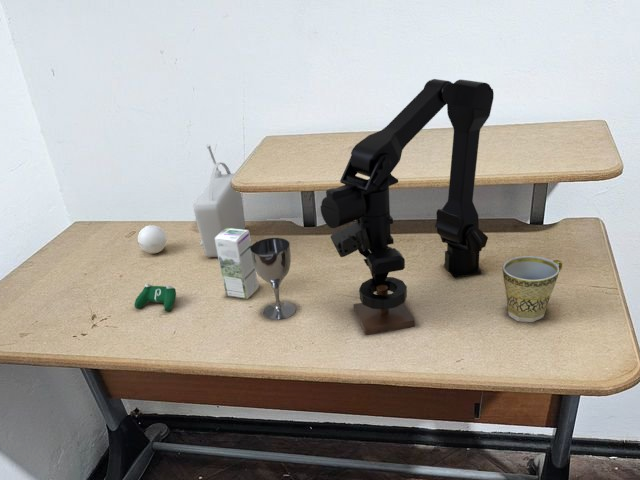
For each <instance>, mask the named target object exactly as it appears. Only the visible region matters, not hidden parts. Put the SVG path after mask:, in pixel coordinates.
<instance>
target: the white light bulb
mask: <svg viewBox="0 0 640 480" xmlns="http://www.w3.org/2000/svg"><path fill="white" fill-rule="evenodd" d="M166 235H167V234H166V232H165V231H164V230H163V228H161V227H160V226H158V225H155V224H154V225H153V224H148V225H146V226H144V227H143V228H142V229H140V231H139V233H138V236H137V244H138V245H139V247H140V249H142V250H143V251H144V252H145V253H148V254H158V253H160V252H162V251H163V250H164V249H165V247H166V245H167V240H168V239H167V236H166ZM133 241H135V239H132V240H131V242H133ZM128 242H129V243H130V240H127V243H128Z"/></svg>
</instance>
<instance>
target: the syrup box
mask: <svg viewBox="0 0 640 480" xmlns="http://www.w3.org/2000/svg"><path fill="white" fill-rule="evenodd" d="M215 244H216V248H217V253H218V257H217V258H218V262H219V267H220V272H221V277H222V283H223V287H224V291H225V296H226V297H231V298H235V299H236V298H237V299H244V300H248V299H249V298H251V297H252V296H253V295H254V293H255V292H256V291H257V290H259V287H260V286H259V281H258V276H257V275H258V274H257V272H256V269H255V267H254V264H253V261H252V257H251V251H250V248H251V246H252V245H253V244H252V240H251V234H250V230H249V229H245V230H242V229H231V228H227V229H225V230H223V231H222V232H221V233H219V234H218V235H217V236H216V237H215Z"/></svg>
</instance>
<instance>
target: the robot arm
mask: <svg viewBox="0 0 640 480" xmlns="http://www.w3.org/2000/svg"><path fill="white" fill-rule="evenodd" d="M494 96H495V95H494V89H493V88H492V87H491V85H490V84H489V83H487V82H483V81H476V80H475V81H474V80H469V79H468V80H467V79H458V80H456V81H454V82H452V81H449V80H444V79H436V78H432V79H430V80H428V81H427V82H425V84H424V86H423V89H421V91H419V93H418V94H417V95H416V96H414V98H413V99H412V100H410V102H409V103H408V104H407V105H406V106H405V107H403V109H402V110H401V111H400V112H399V113H398V114H397V115H396V116H395V117H394V118H393V119H392V120H391V121H390V122H389V123H388V124H387V125H386V126H385V127H384V128H382V129H381V130H378V131H376V132H374V133H371V134H368V135H367V136H366V137H365V138H363V139H362V140H360V141H359V142H357V144H355V145H354V147H353V148H352V149H351V151H350V157H349V160H348V162H347V164H346V166H345V168H344V171H343V173H342V175H341V178H340V180H339V182H340V184H343V185H340V186H338V187H333V188H329V189H327V190H325V194H326V196H325V197H323V198H322V199H321V200H322V201H321V205H320V213H321V217H322V219H323V221H324V222H325V224H326V226H328V227H329V228H330V229H337V228H340V227H342V226H345V225H347V226H345V227H343V228H341V229H339V230H337V231H335V232H334V233H332V234H331V235H330V239H331V241H332V244H333V246H334V248H335V250H336V252H337V253H338V256H339V257H340V258H345V257H348V256H349V255H351V254H353V253H354V252H357V251H358V252H359V254H360V255H362V256H363V257H364V258H363V261H364V263H365V265H366V266H367V267H368V269H369V271H370V274H371V278H374V279H375V283H376V287H377V286H379V285H383V284H384V282H385V280H386V278H387V277H389V276H388V275H389V273H393V272H400V271H404V270H405V268H406V260H405V258H404V256H403V255H402V253H401V252H400V251H399V250H398V249H397V248H395V247H391V246H389V245H394V244H395V243H394V242H395V241H394V238H393V236H392V235H391V225H393V224H394V218H393V216H392V215H391V206H390V187H391V186H393V185H396V184H398V183H399V179H398V178H397V177H395V176H393V174H392V172H393V171H394V169H395V168H396V167H397V165H398V164H399V163H400V161H401V158H402V154H403V150H404V149H405V147H406V146H407V145H408V144H409V143H410V142H412V140H413V139H414V138H415V137H416V136H417V135H418V134H419V133H420V132H421V131H422V129H423V128H425V127H426V125H428V124H429V122H430V121H431V120H433V118H434V117H436V115H438V113H440V111H441V110H442V109H443V108H444V107H445V106H446V108H447V109H446V110H447V117H448V119H449V121H450V124H451V126H452V129H453V136H452V150H451V159H450V161H451V162H450V170H449V171H450V174H449V182H448V183H449V185H448V196H447V201H446V202H445V204H444V205H443V207H442V208H438V209H436V210H437V211H436V221H435V224H434V228H436V233H437V235H439V237H440V239H441V243H444V244H446V246H447V247H446V250H445V251H444V263H443V267H444V268H445V270H446V271H447V272H448V274H450V276H451V277H452V278H454V279H456V278H461V277H462V278H463V277H468V276H469V277H470V276H474V275H480V274H482V272H483V271H482V269H481V268H480V252H481V251H482V250H483V248H486V246H487V244H488V239H489V236H487V235H486V233H484V231H482V230H481V229H480V228H479V227H480V226H479V223H480V221H479V214H478V211H477V209H476V206H475V204H474V201H473V200H474V192H475V181H476V173H477V164H478V163H477V162H478V161H477V160H478V154H479V152H478V151H479V145H480V143H479V141H480V132H481V130H482V128H483V127H484V125H485V123H487V120H488V119H489V118H490V116H491V111H492V107H493V102H494ZM357 174H359V175H362V176H365V177H368V179H366V178H363V177H360V176H358V175H357ZM353 222H354V223H353ZM348 224H350V225H348Z"/></svg>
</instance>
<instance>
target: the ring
mask: <svg viewBox="0 0 640 480" xmlns="http://www.w3.org/2000/svg"><path fill="white" fill-rule="evenodd" d="M383 285H386V286H387V287H388V292H389V291H390V292H391V293H388V294H387V295H377V287H376V283H375V279H374V278H372V277H371V278H369V279H367V280H365V281H364V282H362V283H361V284H360V287H359V291H358V294H359V300H360V303H362V304H363V305H365V306H367V307H369V308H372V309H383V310H385V309H390V308H395V307H398V306H399V305H401V304H403V303H405V302H406V300H407V297H408V286H407V284H406V283H405V282H404V281H403V279H399V278H397V277H394V276H387V278H386V280H385V282H384V284H383Z"/></svg>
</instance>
